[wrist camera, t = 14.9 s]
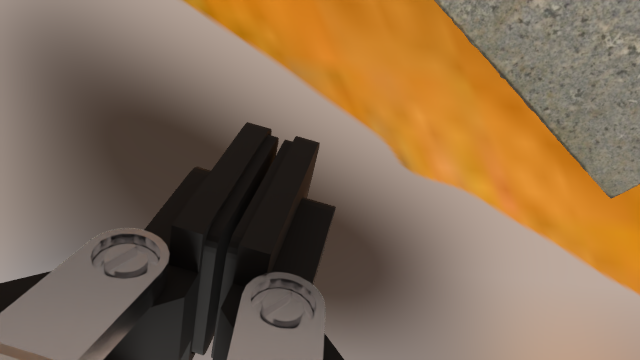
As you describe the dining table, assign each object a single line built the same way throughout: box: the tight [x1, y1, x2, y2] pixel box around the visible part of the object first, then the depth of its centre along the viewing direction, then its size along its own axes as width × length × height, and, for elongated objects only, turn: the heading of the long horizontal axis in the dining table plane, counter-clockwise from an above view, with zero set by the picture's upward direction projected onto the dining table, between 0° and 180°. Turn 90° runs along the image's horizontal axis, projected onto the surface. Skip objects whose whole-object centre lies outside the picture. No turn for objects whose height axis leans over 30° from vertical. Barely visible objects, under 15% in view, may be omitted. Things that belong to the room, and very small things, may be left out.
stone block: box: [435, 0, 640, 198], centre depth 31 cm, size 14×20×5 cm
